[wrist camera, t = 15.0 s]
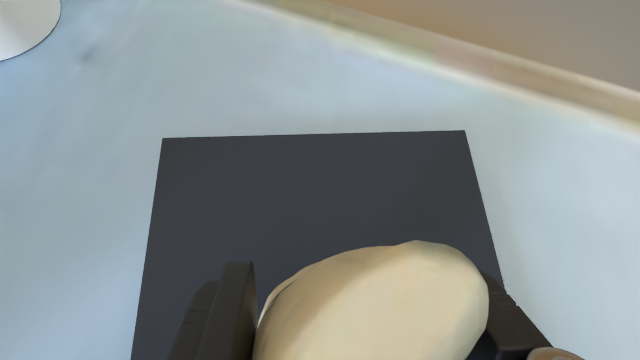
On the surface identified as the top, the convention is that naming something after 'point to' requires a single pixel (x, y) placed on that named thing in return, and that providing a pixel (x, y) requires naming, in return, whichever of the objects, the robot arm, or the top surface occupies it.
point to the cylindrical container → (25, 24)
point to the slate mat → (298, 211)
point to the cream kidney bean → (377, 307)
